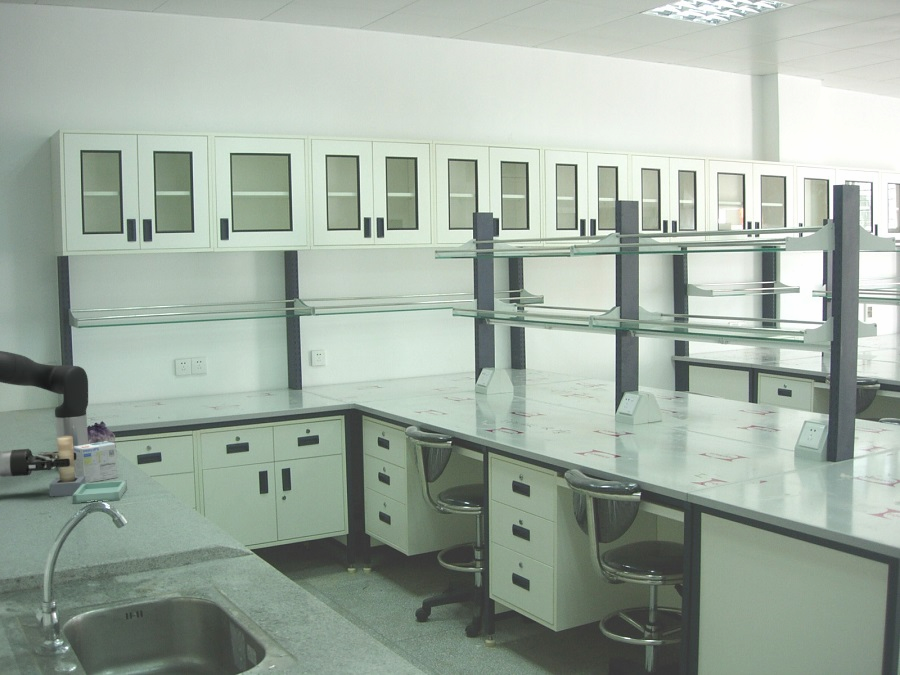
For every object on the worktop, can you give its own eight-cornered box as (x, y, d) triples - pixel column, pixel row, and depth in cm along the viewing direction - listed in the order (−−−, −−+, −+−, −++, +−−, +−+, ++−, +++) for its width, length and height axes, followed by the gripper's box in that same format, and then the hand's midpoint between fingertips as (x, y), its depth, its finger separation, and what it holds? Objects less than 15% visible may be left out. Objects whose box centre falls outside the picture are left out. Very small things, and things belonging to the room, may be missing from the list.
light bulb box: (108, 474, 281) (106, 440, 280) (118, 477, 276) (116, 443, 275) (74, 480, 273) (72, 445, 273) (83, 484, 269) (81, 448, 268)
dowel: (62, 491, 261) (59, 436, 259) (77, 490, 261) (73, 435, 260) (59, 494, 257) (55, 439, 255) (74, 493, 258) (70, 438, 256)
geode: (75, 446, 328) (77, 419, 329) (109, 447, 334) (111, 420, 334) (81, 454, 310) (83, 425, 311) (116, 454, 316) (118, 426, 316)
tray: (83, 491, 260) (82, 483, 260) (126, 488, 262) (126, 480, 262) (72, 503, 246) (72, 495, 246) (119, 500, 249) (118, 492, 248)
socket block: (56, 490, 262) (56, 478, 262) (85, 487, 264) (85, 476, 264) (50, 496, 254) (49, 484, 254) (80, 494, 256) (79, 482, 256)
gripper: (4, 455, 248) (66, 451, 251) (18, 445, 262) (77, 441, 265) (5, 482, 249) (68, 477, 252) (19, 470, 263) (79, 466, 266)
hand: (73, 459), depth 259 cm, fingers open, 8 cm apart
